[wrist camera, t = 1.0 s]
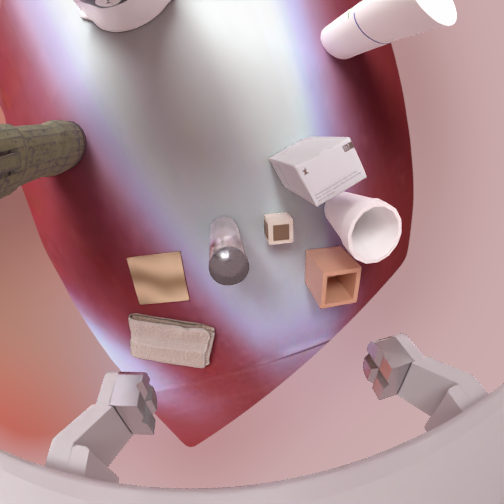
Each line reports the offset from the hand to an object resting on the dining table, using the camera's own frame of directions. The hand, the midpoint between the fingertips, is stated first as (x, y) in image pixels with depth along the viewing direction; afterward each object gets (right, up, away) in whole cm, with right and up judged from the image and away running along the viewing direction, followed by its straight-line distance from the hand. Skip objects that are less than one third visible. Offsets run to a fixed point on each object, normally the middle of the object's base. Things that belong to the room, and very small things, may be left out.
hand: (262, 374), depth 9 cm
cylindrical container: (+15, +40, +27) cm, 51 cm away
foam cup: (+16, +12, +40) cm, 45 cm away
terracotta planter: (+13, +2, +44) cm, 46 cm away
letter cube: (+4, +9, +40) cm, 41 cm away
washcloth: (-18, -14, +48) cm, 53 cm away
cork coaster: (-17, -1, +41) cm, 44 cm away
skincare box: (+7, +20, +36) cm, 41 cm away
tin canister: (-5, +8, +39) cm, 40 cm away
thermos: (-32, +22, +28) cm, 48 cm away
